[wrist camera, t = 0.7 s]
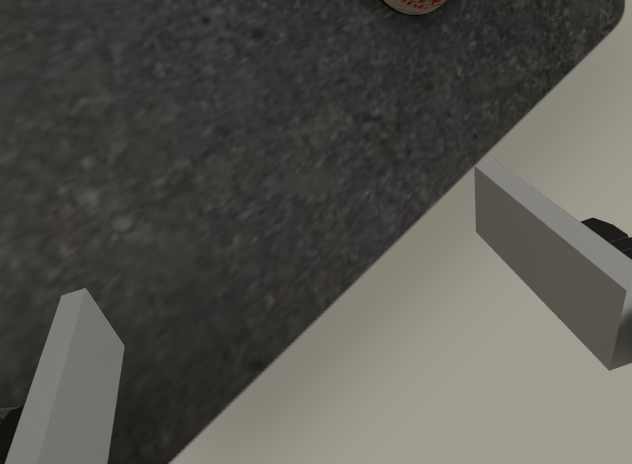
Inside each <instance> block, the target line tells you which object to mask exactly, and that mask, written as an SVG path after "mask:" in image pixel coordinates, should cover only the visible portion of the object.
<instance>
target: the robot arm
mask: <svg viewBox="0 0 632 464" xmlns="http://www.w3.org/2000/svg"><path fill="white" fill-rule="evenodd" d="M474 168H475V207H476V232H477V233H478V234H479V235H480V236H481V237H482V238H483V240H484V241H485V242H487V244H488V245H489V246H490V247H491V248H492V249H493V250H494V251H495V252H496V253H497V254H498V255H499V256H500V257H501V258H502V259H503V260H504V261H505V262H506V264H508V266H509V267H510V268H511V269H512V270H513V271H514V272H515V273H516V274H517V275H518V276H519V277H520V278H521V279H522V280H523V281H524V282H525V283H526V284H527V285H528V286H529V287H530V289H531V290H532V291H534V293H535V294H536V295H537V296H538V297H539V298H540V299H541V300H542V301H543V302H544V303H545V304H546V305H547V306H548V307H549V308H550V309H551V310H552V311H553V312H554V314H556V316H557V317H558V318H559V319H560V320H561V321H562V322H563V323H564V324H565V325H566V326H567V327H568V328H569V329H570V330H571V331H572V332H573V333H574V334H575V335H576V336H577V338H578V339H579V340H580V341H581V342H582V343H583V344H584V345H585V346H586V347H587V348H588V349H589V350H590V351H591V352H592V353H593V354H594V355H595V356H596V357H597V358H598V359H599V360H600V361H601V363H602V364H603V365H604V366H605V367H606V368H607V369H608V370H612V369H615V368H618V367H621V366H624V365H627V364H629V363H632V238H631V237H630V238H629V237H628V235H627V234H626V233H624V232H623V231H621V230H620V229H618V228H617V227H616V226H614V225H612V224H609V223H607V222H604V221H601V220H598V219H596V218H590V219H587V220H584V221H581V222H580V221H579V220H577V219H576V218H574V217H573V216H572V215H570V214H569V213H568V212H566V211H565V210H564V209H562V208H561V207H560V206H558V205H557V204H555V203H554V202H553V201H552V200H550V199H549V198H548V197H546V196H545V195H543V194H542V193H541V192H539V191H538V190H537V189H535V188H534V187H533V186H531V185H530V184H529V183H527V182H526V181H525V180H523V179H522V178H521V177H519V176H518V175H516V174H515V173H513V172H512V171H511V170H510V169H508V168H507V167H506V166H504V165H503V164H502V163H500V162H499V161H498V160H496V159H494V160H491V161H488V162H485V163H482V164H479V165H475V166H474ZM123 353H124V345H123V343H122V342H121V340H120V339H119V337H118V336H117V334H116V333H115V331H114V330H113V328H112V327H111V325H110V324H109V322H108V321H107V319H106V318H105V316H104V315H103V313H102V312H101V310H100V309H99V307H98V306H97V304H96V303H95V301H94V300H93V298H92V297H91V295H90V294H89V292H88V291H87V289H86V288H84V289H81V290H78V291H75V292H72V293H68V294H65V295H62V296H61V299H60V302H59V305H58V308H57V311H56V314H55V317H54V320H53V323H52V326H51V329H50V332H49V335H48V338H47V340H46V343H45V346H44V349H43V352H42V355H41V358H40V361H39V364H38V367H37V370H36V373H35V376H34V379H33V382H32V385H31V388H30V391H29V394H28V397H27V400H26V403H25V406H22V407H19V408H16V409H13V410H10V411H9V412H8V413H7V415H6V416H5V418H4V419H3V420H2V422H1V423H0V464H107V462H108V455H109V449H110V442H111V435H112V428H113V421H114V415H115V408H116V401H117V394H118V387H119V380H120V374H121V367H122V360H123Z"/></svg>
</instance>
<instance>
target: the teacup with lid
mask: <svg viewBox="0 0 632 464" xmlns="http://www.w3.org/2000/svg"><path fill="white" fill-rule="evenodd" d="M383 1H384V2H385V3H387V4H388V5H389V6H391V7H392V8H394V9H395V10H397V11H400V12H402V13H405V14H411V15H421V14H426V13H429V12H431V11H433V10H435V9H436V8H438V7H439V6H440V5H442V4H443V3H444V2H445V1H447V0H383Z"/></svg>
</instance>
